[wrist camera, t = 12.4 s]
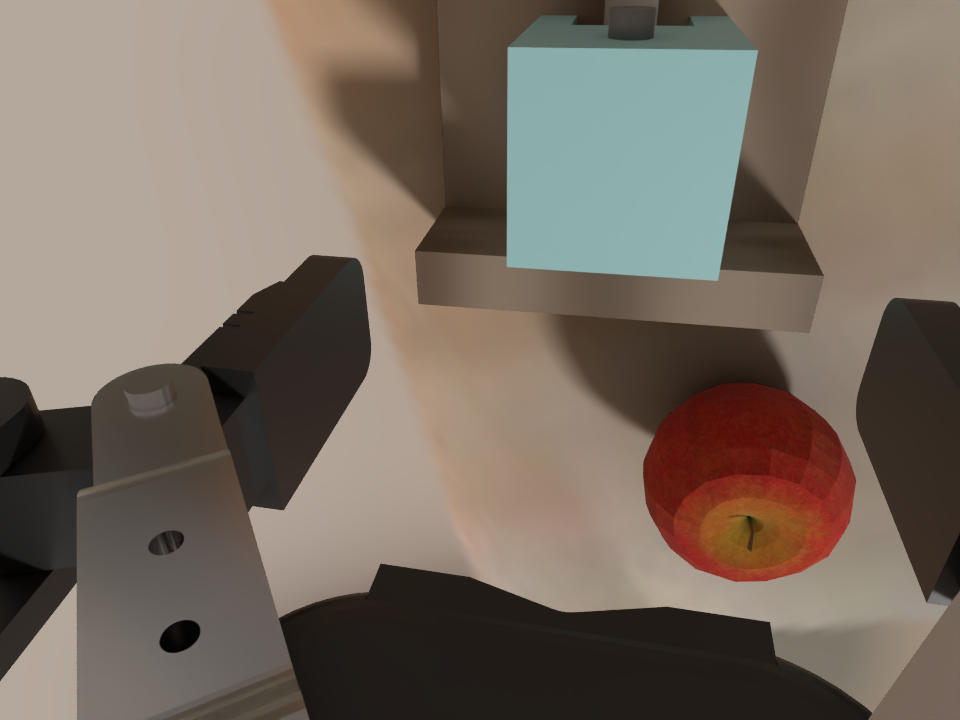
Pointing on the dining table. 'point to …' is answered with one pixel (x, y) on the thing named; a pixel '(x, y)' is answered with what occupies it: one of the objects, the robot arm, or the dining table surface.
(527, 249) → the cabinet block
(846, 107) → the dining table surface
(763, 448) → the apple
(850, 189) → the dining table surface
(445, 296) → the cleat board
